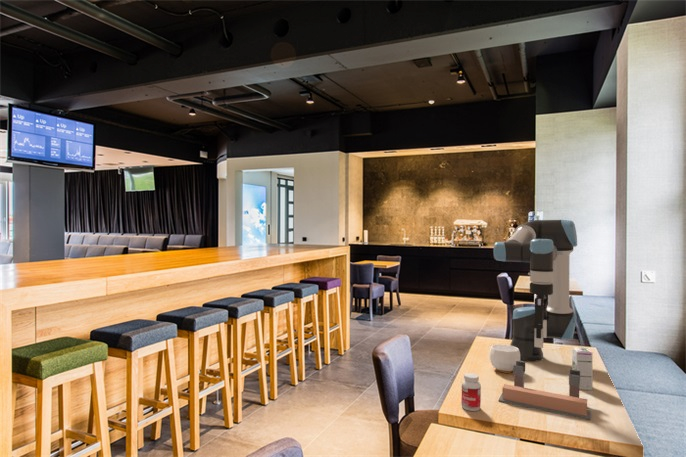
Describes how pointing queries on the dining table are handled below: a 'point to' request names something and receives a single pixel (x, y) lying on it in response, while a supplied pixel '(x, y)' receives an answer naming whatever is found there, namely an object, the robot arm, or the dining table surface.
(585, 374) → the syrup box
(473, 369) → the dining table surface
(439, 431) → the dining table surface
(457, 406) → the dining table surface
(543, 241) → the robot arm
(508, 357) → the cup
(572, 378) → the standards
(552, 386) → the dining table surface
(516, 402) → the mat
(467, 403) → the pill bottle
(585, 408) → the rail
